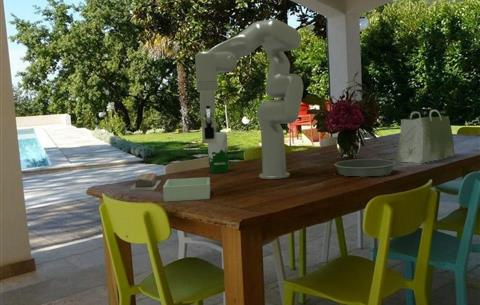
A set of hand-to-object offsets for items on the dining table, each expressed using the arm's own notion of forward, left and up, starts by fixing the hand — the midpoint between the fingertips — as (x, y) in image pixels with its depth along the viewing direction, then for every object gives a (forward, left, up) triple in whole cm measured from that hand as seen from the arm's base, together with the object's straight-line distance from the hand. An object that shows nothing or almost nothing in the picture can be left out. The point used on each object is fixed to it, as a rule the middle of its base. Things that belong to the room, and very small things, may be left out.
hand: (209, 137), depth 190 cm
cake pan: (-24, +62, -21) cm, 70 cm away
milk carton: (-49, +2, -20) cm, 53 cm away
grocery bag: (-53, +99, -20) cm, 113 cm away
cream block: (0, 0, -2) cm, 2 cm away
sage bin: (+3, -9, -20) cm, 22 cm away
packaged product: (-22, -27, -21) cm, 41 cm away
